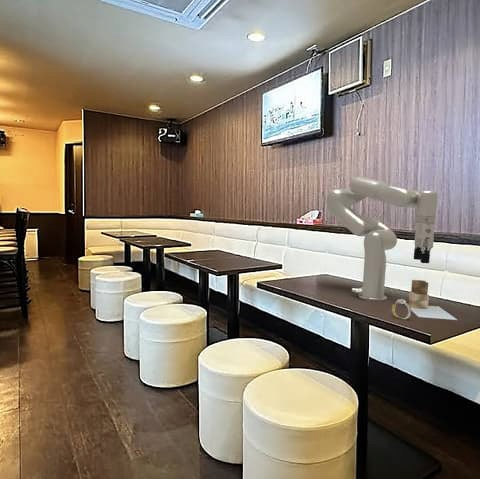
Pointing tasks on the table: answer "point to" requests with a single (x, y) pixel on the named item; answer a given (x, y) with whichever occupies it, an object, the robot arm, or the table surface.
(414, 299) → the base block
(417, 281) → the walnut block
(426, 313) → the board
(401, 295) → the table surface
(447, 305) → the table surface
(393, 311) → the bracelet
